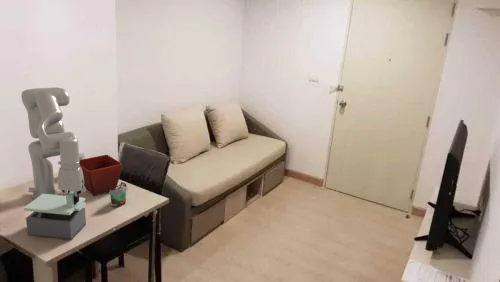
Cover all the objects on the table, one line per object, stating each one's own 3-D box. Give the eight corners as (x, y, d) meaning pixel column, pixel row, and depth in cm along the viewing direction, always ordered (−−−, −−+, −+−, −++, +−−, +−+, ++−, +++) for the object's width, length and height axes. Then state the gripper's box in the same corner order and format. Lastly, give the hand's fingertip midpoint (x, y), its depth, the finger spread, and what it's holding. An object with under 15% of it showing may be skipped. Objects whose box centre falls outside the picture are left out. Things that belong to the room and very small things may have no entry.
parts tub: (27, 235, 177) (25, 218, 174) (45, 220, 190) (43, 203, 187) (71, 240, 176) (70, 222, 173) (86, 224, 189) (84, 207, 186)
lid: (24, 212, 173) (22, 195, 170) (43, 197, 187) (41, 181, 184) (75, 217, 172) (73, 200, 169) (90, 202, 186) (89, 186, 183)
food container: (120, 209, 205) (120, 192, 202) (109, 207, 206) (109, 190, 203) (132, 199, 217) (131, 183, 214) (121, 198, 218) (121, 181, 215)
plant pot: (76, 187, 226) (74, 160, 221) (108, 180, 239) (107, 154, 234) (90, 200, 213) (88, 171, 208) (123, 191, 226) (122, 164, 221)
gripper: (47, 166, 169) (51, 204, 175) (84, 169, 169) (86, 208, 174) (57, 160, 176) (60, 197, 182) (92, 163, 176) (94, 200, 181)
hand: (73, 202), depth 178 cm, fingers closed on lid
